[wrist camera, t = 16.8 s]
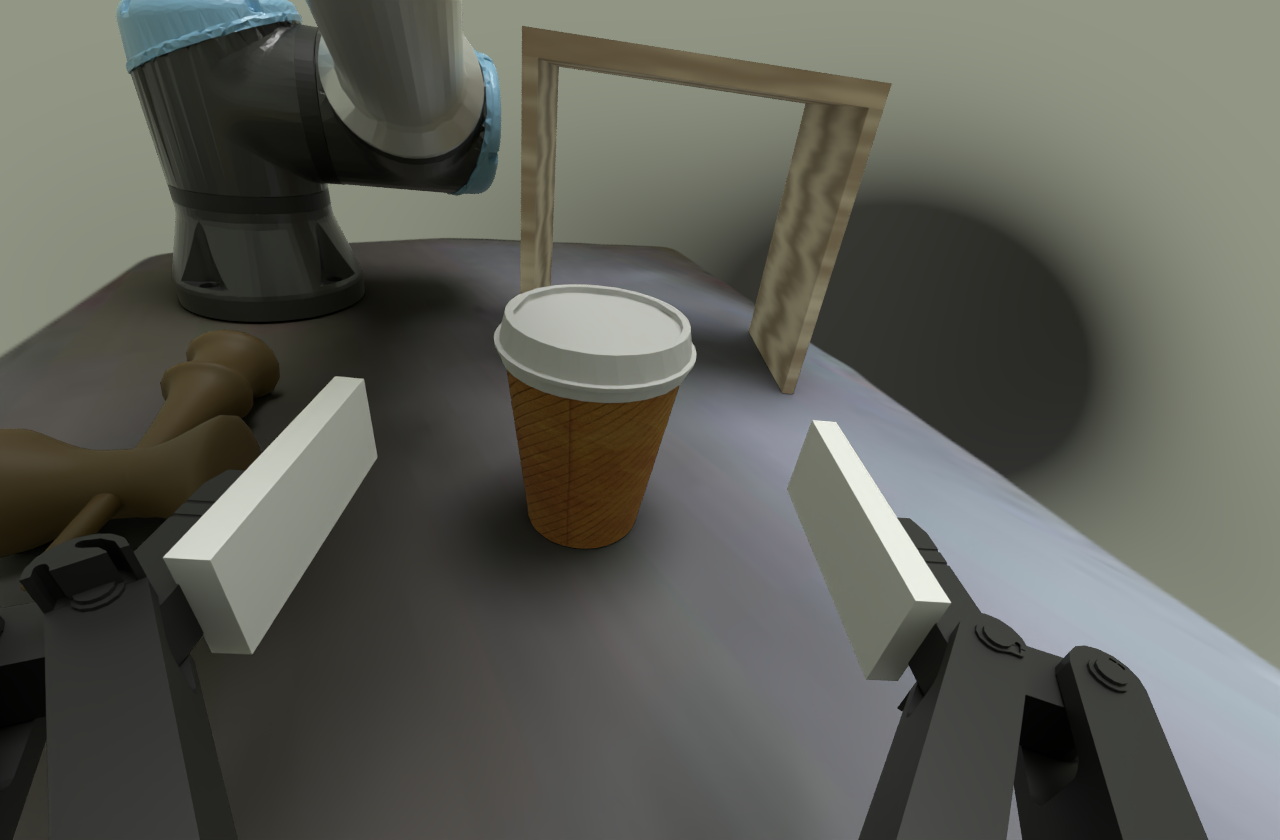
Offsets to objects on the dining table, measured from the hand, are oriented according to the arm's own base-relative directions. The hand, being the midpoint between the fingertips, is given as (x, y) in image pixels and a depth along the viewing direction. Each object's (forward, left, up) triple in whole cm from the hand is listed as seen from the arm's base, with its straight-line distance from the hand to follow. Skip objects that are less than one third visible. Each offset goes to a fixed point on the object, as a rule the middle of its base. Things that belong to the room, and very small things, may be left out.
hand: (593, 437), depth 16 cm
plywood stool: (-27, +22, -12) cm, 37 cm away
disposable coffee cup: (-9, +5, -12) cm, 16 cm away
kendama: (-20, -14, -12) cm, 27 cm away
